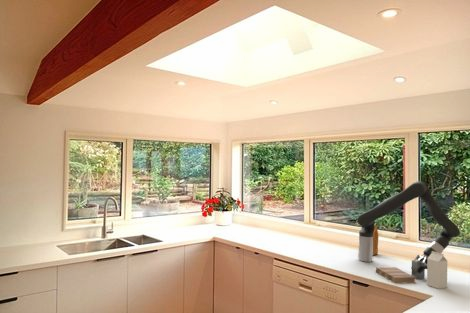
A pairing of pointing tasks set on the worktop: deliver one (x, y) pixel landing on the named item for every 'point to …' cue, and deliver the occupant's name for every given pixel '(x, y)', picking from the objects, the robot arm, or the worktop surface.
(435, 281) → the milk carton
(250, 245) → the worktop surface
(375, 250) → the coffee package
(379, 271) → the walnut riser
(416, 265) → the block
